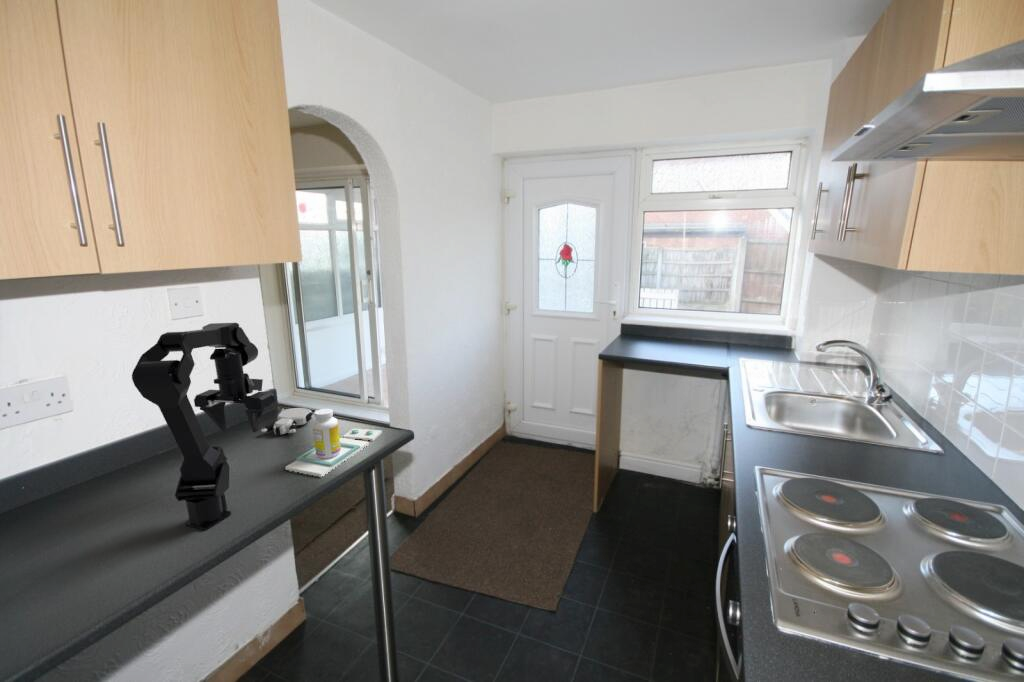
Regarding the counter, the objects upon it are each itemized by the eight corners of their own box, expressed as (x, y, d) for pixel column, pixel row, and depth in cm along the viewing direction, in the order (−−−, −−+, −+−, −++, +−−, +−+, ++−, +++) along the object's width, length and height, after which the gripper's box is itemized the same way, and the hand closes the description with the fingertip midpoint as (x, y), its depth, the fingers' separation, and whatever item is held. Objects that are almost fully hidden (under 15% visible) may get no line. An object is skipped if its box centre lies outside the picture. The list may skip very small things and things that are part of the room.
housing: (321, 477, 122) (320, 471, 122) (285, 470, 126) (284, 464, 126) (368, 444, 140) (368, 439, 140) (336, 439, 144) (335, 434, 144)
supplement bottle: (341, 447, 137) (337, 405, 134) (340, 457, 131) (336, 413, 128) (316, 450, 135) (311, 408, 132) (315, 461, 129) (309, 417, 126)
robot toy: (296, 440, 147) (319, 418, 161) (294, 427, 145) (317, 406, 160) (259, 439, 148) (286, 418, 162) (257, 426, 147) (283, 406, 161)
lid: (372, 440, 143) (372, 436, 143) (343, 438, 145) (342, 434, 145) (381, 432, 149) (381, 428, 148) (353, 430, 151) (352, 426, 151)
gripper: (284, 364, 123) (292, 420, 126) (221, 362, 126) (230, 417, 129) (255, 377, 112) (264, 438, 115) (187, 375, 115) (198, 434, 119)
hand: (239, 431), depth 120 cm, fingers open, 9 cm apart
